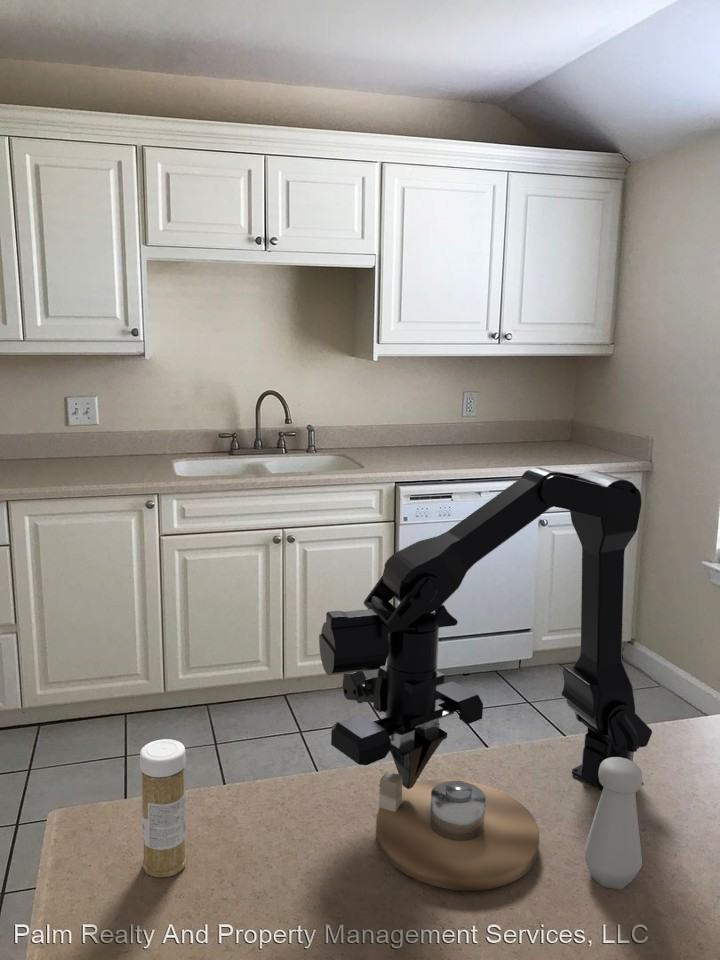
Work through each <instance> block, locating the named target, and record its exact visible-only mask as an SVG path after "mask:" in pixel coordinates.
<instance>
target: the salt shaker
mask: <svg viewBox="0 0 720 960" xmlns="http://www.w3.org/2000/svg"><path fill="white" fill-rule="evenodd" d="M642 772H643V771H642V769H641V768H640V767H639V766H638V765H637V763H635V762H634V760H633V761H630V760H628V759H625V758H621V757H611V758H607V759H605V760H603V762H602V763H601V764H600V767H599V782H600V784H601V785H602V786H603V787H604V788H603V791H602V790H601V791H602V792H601V795H600V799H599V801H598V805H597V807H596V810H595V813H594V816H593V820H592V823H591V827H590V829H589V832H588V836H587V839H586V841H585V845H584V858H585V859H584V860H585V862H586V865H587V868H588V871H589V874H590V877H591V878H592V879H594V881H596V882H597V883H599V885H601V886H602V887H603V888H609V889H616V890H621V891H622V890H624V888H626V887H628V885H629V884H631V883H632V882H633V881H634V879H635V877H636V876H637V875H638V873H639V872H640V871H641V869H642V865H643V858H642V848H641V838H640V829H639V828H640V827H639V817H638V808H637V799H636V793H637V792H639V790H640V789H641V788H642V784H643V773H642Z"/></svg>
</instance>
